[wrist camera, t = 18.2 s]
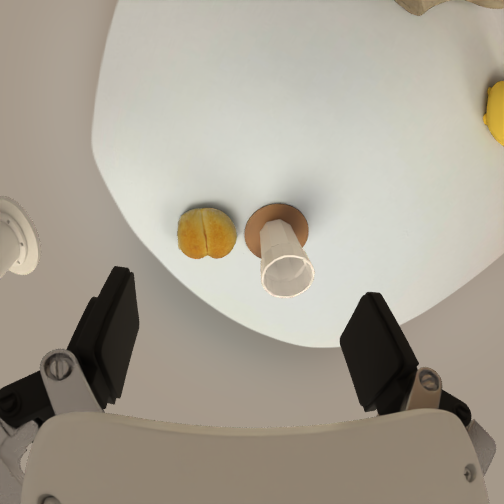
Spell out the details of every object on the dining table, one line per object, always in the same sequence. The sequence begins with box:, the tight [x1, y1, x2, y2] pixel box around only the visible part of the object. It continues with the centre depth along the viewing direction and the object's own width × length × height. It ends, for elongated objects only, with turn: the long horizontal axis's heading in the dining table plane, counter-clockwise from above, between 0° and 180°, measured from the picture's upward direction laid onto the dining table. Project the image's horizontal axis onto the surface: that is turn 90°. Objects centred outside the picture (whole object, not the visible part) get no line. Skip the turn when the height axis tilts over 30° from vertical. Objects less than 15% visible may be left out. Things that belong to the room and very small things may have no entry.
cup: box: [260, 219, 315, 298], centre depth 39 cm, size 7×7×11 cm
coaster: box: [245, 204, 308, 259], centre depth 44 cm, size 10×10×1 cm
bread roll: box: [177, 208, 237, 259], centre depth 41 cm, size 8×9×4 cm
